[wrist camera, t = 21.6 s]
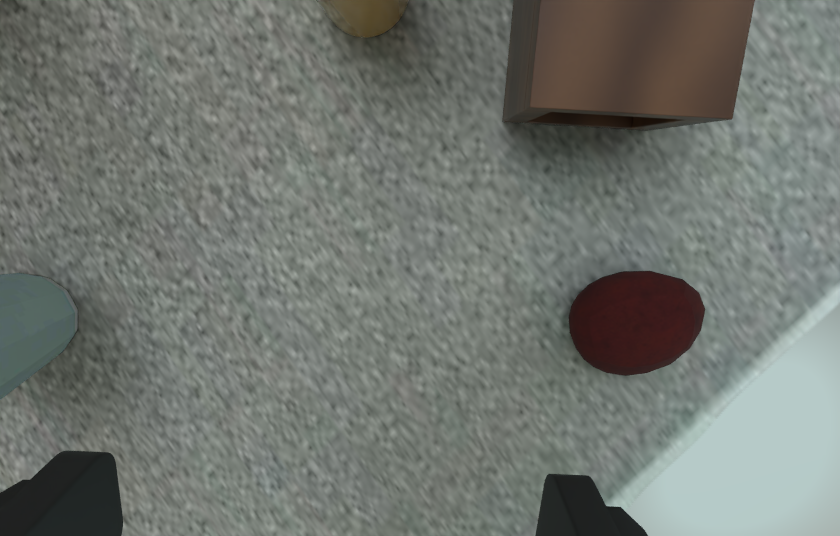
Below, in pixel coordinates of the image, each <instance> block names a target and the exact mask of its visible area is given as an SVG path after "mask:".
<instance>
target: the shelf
mask: <svg viewBox="0 0 840 536" xmlns="http://www.w3.org/2000/svg"><path fill="white" fill-rule="evenodd" d="M754 1H755V0H514V1H513V12H512V23H511V33H510V44H509V55H508V66H507V77H506V88H505V99H504V110H503V122H510V123H527V124H544V125H561V126H577V127H594V128H611V129H629V130H645V131H647V130H654V129H662V128H669V127H677V126H684V125H692V124H699V123H707V122H714V121H722V120H730V119H732V118H733V112H734V107H735V102H736V96H737V91H738V86H739V80H740V75H741V70H742V65H743V59H744V54H745V49H746V43H747V38H748V33H749V27H750V22H751V17H752V12H753V6H754Z"/></svg>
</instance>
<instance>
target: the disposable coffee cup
mask: <svg viewBox="0 0 840 536" xmlns="http://www.w3.org/2000/svg"><path fill="white" fill-rule="evenodd" d="M77 330H78V309H77V307H76V305H75V304H74V302H73V300H72V298H71V296H70V294H69V293H68V291H67V290H65V289H64V288H63V287H61V286H60V285H58V284H57V283H56V282H54V281H53V280H51V279H50V278H45V277H42V276H35V275H28V274H22V273H14V274H2V275H0V400H1V399H2V398H3V397H5V396H6V395H7V394H8V393H10V392H11V391H12V390H14V389H15V388H16V387H18V386H19V385H20V384H21V383H23V382H24V381H25V380H27V379H28V378H29V377H30V376H32V375H33V374H34V373H36V372H37V371H38V370H40V369H41V368H42V367H43V366H45V365H46V364H47V363H49V362H50V361H51V360H52V359H54V358H55V357H56V356H58V355H59V354H60V353H62V352H63V351H64V349H65V348H66V346H67V345H68V343H69V342H70V340H71V339H72V338H73V336H74V335H75V333H76V331H77Z"/></svg>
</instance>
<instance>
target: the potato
mask: <svg viewBox="0 0 840 536" xmlns="http://www.w3.org/2000/svg"><path fill="white" fill-rule="evenodd" d="M704 313H705V308H704V305H703V302H702V300H701V297H700V294H699V292H697V291H696V290H695V289H694V288H693V287H691V286H690V285H689V284H688V283H686V282H685V281H684V280H683V279H679V278H675V277H671V276H667V275H663V274H660V273H656V272H652V271H626V272H619V273H616V274H612V275H609V276H605V277H602V278H600V279H598V280H597V281H595V282H593V283H591V284H589V285H588V286H587V287H586V288H585V289H584V290H582V291H581V292H580V293H579V294H578V295H577V297H576V299H575V301H574V302H573V304H572V306H571V311H570V315H569V326H570V334H571V337H572V340H573V343H574V345H575V347H576V349H577V350H578V352H579V353H580V354H581V356H582V357H583V359H584V360H586V361H587V362H588V363H589V364H591V365H592V366H593V367H595V368H597V369H600V370H602V371H604V372H606V373H612V374H618V375H625V376H626V375H634V374H642V373H648V372H651V371H653V370H656V369H659V368H661V367H664V366H667V365H669V364H671V363H672V362H674V361H675V360H676V359H677V358H679V357H680V356H681V355H682V354H683V353H685V352H686V351H687V350H688V349H689V348H690V347H691V345H692V344H693V342H694V341H695V339H696V337H697V336H698V334H699V332H700V331H701V327H702V322H703V318H704Z"/></svg>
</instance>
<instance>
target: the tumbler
mask: <svg viewBox="0 0 840 536" xmlns="http://www.w3.org/2000/svg"><path fill="white" fill-rule="evenodd" d="M316 1H317V3H318V4H319V5H320V7H321V8H322V9H323V11H324V12H325V13H326V15H327V16H328V17H329V19H330V20H331V21H332V22H333V23H334V24H335V25H336V26H337V27H338V28H339V29H340V30H342V31H344V32H345V33H347V34H350V35H353V36H356V37H374V36H378V35H380V34H383V33H385V32H386V31H388V30H390V29H391V28H392V27H393V26H394V25H395V24H396V23H397V22H398V21H399V20H400V18H401V17H402V15H403V13H404V11H405V9H406V6H407V4H408V0H316Z"/></svg>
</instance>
